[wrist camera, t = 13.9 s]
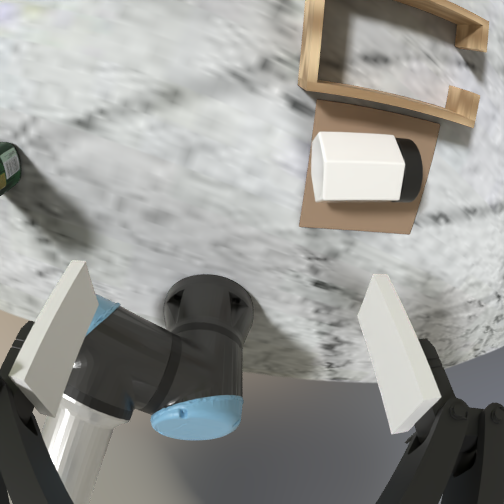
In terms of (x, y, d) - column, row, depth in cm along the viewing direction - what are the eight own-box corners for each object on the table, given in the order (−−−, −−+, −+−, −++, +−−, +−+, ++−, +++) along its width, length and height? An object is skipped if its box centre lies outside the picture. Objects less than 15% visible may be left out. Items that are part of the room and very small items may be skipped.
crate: (449, 116, 35) (473, 128, 30) (297, 85, 34) (306, 90, 29) (462, 20, 27) (488, 21, 22) (307, -27, 26) (317, -40, 21)
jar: (309, 188, 42) (391, 188, 42) (321, 218, 35) (415, 217, 35) (311, 123, 37) (399, 128, 37) (325, 141, 30) (428, 147, 30)
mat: (408, 233, 46) (409, 234, 46) (299, 225, 45) (299, 226, 45) (439, 123, 36) (440, 124, 36) (316, 99, 35) (317, 99, 35)
